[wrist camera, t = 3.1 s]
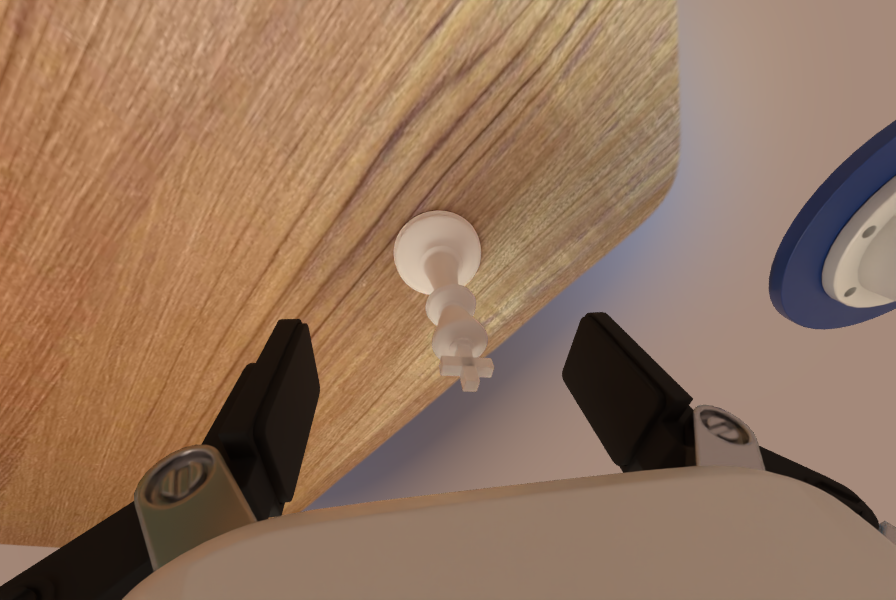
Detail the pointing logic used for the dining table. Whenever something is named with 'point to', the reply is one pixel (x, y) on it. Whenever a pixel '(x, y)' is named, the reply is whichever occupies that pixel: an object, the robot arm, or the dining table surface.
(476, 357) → the chess piece
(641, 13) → the dining table surface
